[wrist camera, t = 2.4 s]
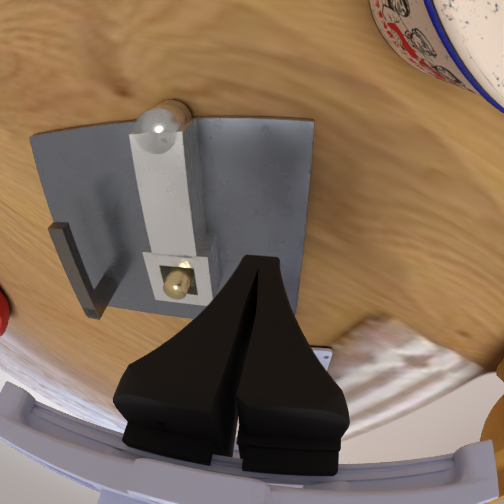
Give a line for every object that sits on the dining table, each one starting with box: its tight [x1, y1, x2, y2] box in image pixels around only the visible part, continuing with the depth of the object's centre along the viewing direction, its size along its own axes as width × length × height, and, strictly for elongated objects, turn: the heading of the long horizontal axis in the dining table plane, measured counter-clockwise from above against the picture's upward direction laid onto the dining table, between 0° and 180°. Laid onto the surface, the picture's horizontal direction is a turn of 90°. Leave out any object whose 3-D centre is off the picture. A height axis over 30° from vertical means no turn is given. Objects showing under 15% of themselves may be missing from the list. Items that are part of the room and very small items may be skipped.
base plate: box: [29, 116, 314, 319], centre depth 23 cm, size 17×20×1 cm
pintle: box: [163, 266, 195, 300], centre depth 22 cm, size 2×2×4 cm
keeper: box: [48, 222, 117, 320], centre depth 22 cm, size 9×1×4 cm, turn 1°
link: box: [129, 100, 221, 306], centre depth 19 cm, size 13×4×3 cm, turn 1°
